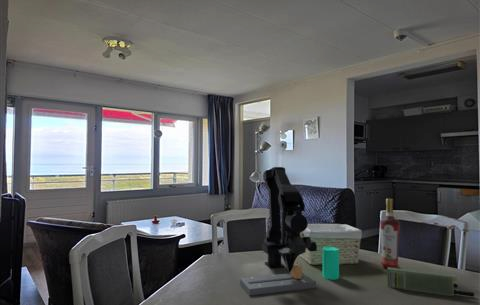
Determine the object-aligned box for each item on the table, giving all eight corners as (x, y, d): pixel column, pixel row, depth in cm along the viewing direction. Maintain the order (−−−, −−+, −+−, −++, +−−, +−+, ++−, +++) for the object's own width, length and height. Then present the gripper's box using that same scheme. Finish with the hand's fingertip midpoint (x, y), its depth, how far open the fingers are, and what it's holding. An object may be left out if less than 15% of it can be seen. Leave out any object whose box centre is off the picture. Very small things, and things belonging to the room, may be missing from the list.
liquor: (379, 268, 130) (378, 199, 131) (381, 263, 136) (381, 197, 137) (399, 271, 126) (398, 200, 127) (400, 266, 132) (400, 198, 133)
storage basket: (345, 254, 150) (345, 222, 150) (363, 265, 134) (363, 229, 134) (296, 255, 146) (296, 223, 147) (309, 267, 130) (309, 230, 131)
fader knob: (290, 275, 113) (290, 263, 113) (296, 274, 114) (296, 262, 114) (295, 278, 109) (295, 266, 109) (301, 278, 110) (301, 265, 110)
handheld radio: (387, 285, 112) (472, 296, 103) (388, 288, 109) (475, 300, 100) (387, 266, 112) (472, 275, 103) (387, 269, 109) (475, 279, 100)
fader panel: (239, 284, 111) (239, 277, 111) (301, 277, 118) (301, 271, 118) (249, 295, 101) (249, 288, 101) (316, 287, 108) (316, 281, 108)
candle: (339, 280, 116) (339, 246, 116) (322, 278, 117) (322, 245, 117) (338, 274, 121) (338, 242, 122) (322, 273, 123) (322, 242, 123)
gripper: (274, 232, 101) (273, 282, 100) (325, 229, 107) (325, 277, 106) (261, 225, 112) (261, 270, 111) (309, 223, 117) (308, 266, 117)
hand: (289, 271), depth 111 cm, fingers closed
